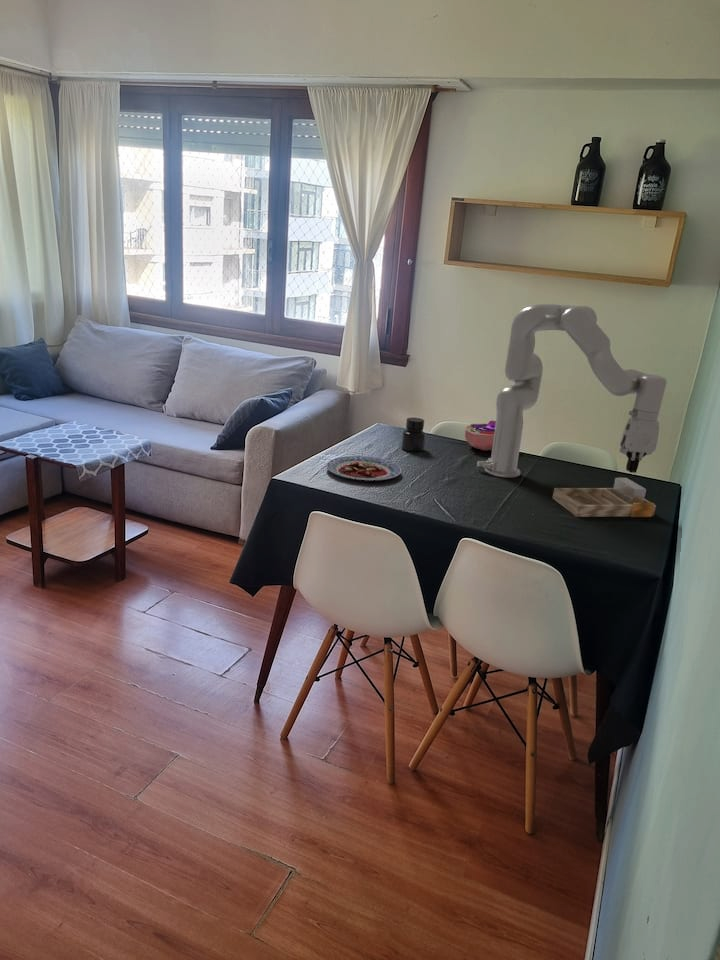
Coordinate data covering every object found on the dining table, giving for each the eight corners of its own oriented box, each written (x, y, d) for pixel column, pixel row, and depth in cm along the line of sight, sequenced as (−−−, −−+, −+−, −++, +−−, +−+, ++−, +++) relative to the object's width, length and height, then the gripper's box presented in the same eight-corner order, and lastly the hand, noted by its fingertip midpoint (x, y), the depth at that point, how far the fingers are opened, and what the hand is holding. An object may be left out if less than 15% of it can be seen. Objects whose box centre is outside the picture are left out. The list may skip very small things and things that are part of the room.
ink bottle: (427, 449, 264) (431, 419, 260) (420, 454, 256) (423, 423, 252) (404, 444, 267) (407, 415, 264) (396, 449, 260) (399, 419, 256)
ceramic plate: (379, 491, 214) (379, 482, 213) (311, 474, 225) (311, 465, 224) (413, 472, 235) (413, 464, 234) (350, 457, 247) (350, 449, 246)
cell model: (452, 446, 271) (455, 418, 267) (487, 441, 282) (491, 415, 278) (482, 457, 258) (486, 429, 254) (517, 452, 269) (521, 424, 266)
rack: (577, 517, 203) (580, 503, 202) (552, 498, 219) (554, 485, 217) (654, 516, 209) (658, 503, 207) (625, 497, 224) (627, 485, 223)
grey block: (630, 510, 210) (634, 489, 208) (611, 497, 220) (615, 477, 218) (641, 510, 211) (646, 489, 208) (622, 497, 221) (626, 477, 219)
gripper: (630, 417, 201) (616, 474, 207) (673, 419, 204) (658, 475, 210) (616, 411, 208) (603, 466, 214) (658, 413, 211) (644, 467, 217)
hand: (630, 471), depth 212 cm, fingers closed
